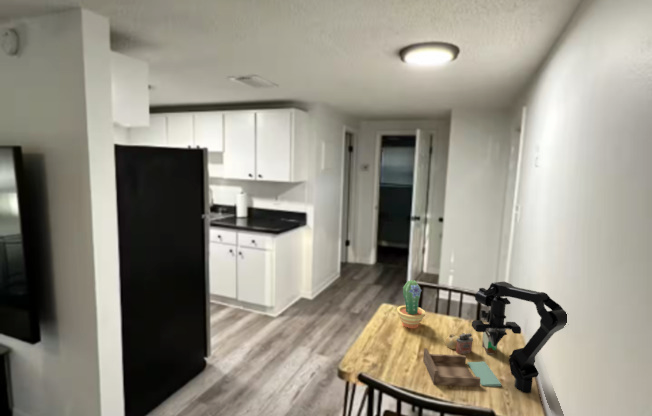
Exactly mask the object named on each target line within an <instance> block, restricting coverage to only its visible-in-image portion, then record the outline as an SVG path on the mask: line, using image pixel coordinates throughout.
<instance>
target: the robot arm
mask: <svg viewBox="0 0 652 416" xmlns="http://www.w3.org/2000/svg"><path fill="white" fill-rule="evenodd" d="M508 297H509V298H514V299H518V300H521V301H526V302H530V303H533V304H534V305H535V309H536V311H537V314H538V316H539V317H540V319H539V327H538V329H537V330H536V331H535V332H534V334H533V335H532V336H531V338H529V340H528V342H526V344H525V345H524V347H520V348H516V349H514V350H512V351H511V354H510V355H508V357H509V358H508V362H509V368H510V369H509V370H510V374H511V376H513V377H514V387H515V389H517V390H518V391H520V392H521V393H522V394H525V393H526V394H532V387H533V379H534V378H537V377H538V376H539V371H538V368H537V367H536V365H535V362H536V356H537V355H538V353H540V351H541V350H542V349H543V348H544V346H545V345H546V344H547V342H548V341H549V340H550V339H551V338H552V337H553V335H554V334H555V333H557V332H559V331H560V330H563V329H565V327H566V326H565V325H566V323H567V314H568V313H567V314H566V312H567V311H566V310H565V309H563V306H561V305H560V304H559V303H558V302H556V301H555V300H554V299H552V298H551V297H550V295H549V294H548V293H547V292H543V291H541V292H540V291H536V290H531V289H526V288H522V287H521V288H520V287H517V286H514V285H513V284H512V283H509V282H507V281H496V282H491V284H490V285H489V287H488V288H487V289H486V288H485V287H479V288H478V290H477V292H476V293H475V295H474V300H475V301H476V302H477V303H479V304H481V305H483V306H485V307H490V308H489V310H488V311H486V310H481V309H480V311H479V318H482V319H483V320H484V321H485V322H486V323H484V321H482V320H478V319H477V320H476V319H475V320H472V321H471V327H472V328H473V330H475V332H477V333H483V332H485V331H486V330H487V332H488V333H489V334H490V337H491V340H492V344H493V346H496V345H497V346H498V344H499V342H500V341H501V340H502V339H503V338H504V336H507V335H508V333H507V331H506V330H511V332H512V333H513V334H516V335H517V334H518V335H521V334H522V327H521V326H520V325H519V324H518V323H516V322H515V321H506V322H505V319H507V315H506V305H511V303H512V302H511V301H510V300H509V299H508ZM546 307H547V308H549V309H550V310H547V308H546ZM564 326H565V327H564Z"/></svg>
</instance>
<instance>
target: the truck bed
mask: <svg viewBox="0 0 652 416" xmlns="http://www.w3.org/2000/svg"><path fill="white" fill-rule="evenodd" d="M466 361H467V356H466V355H465V354H441V353H430V352H429V349H428V348H426V347H425V348H423V363H424V365H425V367H426V368H425V369H426V371H427V373H428V375H429V377H430V379H431V382H432V383H433V385H435V386H436V385H437V386H459V387H477V388H479V387H480V386H481V384H480V377H476V376H473V375H474V374H473V373H472V372H471V371H470V370H471V369H469V366H467V364H466Z"/></svg>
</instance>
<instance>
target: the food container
mask: <svg viewBox="0 0 652 416" xmlns="http://www.w3.org/2000/svg"><path fill="white" fill-rule="evenodd" d="M481 348H484V349H483V350H485V353H486V355H495V354H497V349H498V344H497V345H496V346H493V344H492V340H491V337H490V334H489V333H488V332H487V330H486V331H485V332H482V343H481Z"/></svg>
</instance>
